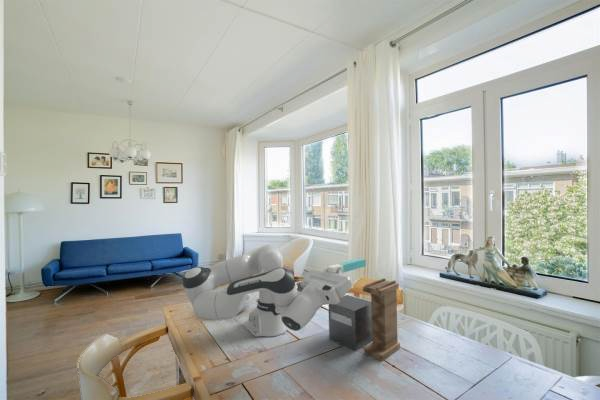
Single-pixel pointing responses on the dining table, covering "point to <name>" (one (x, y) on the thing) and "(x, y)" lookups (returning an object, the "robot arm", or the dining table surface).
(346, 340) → the switch box
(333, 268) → the teal bar
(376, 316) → the post
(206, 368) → the dining table surface
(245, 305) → the serving bowl
